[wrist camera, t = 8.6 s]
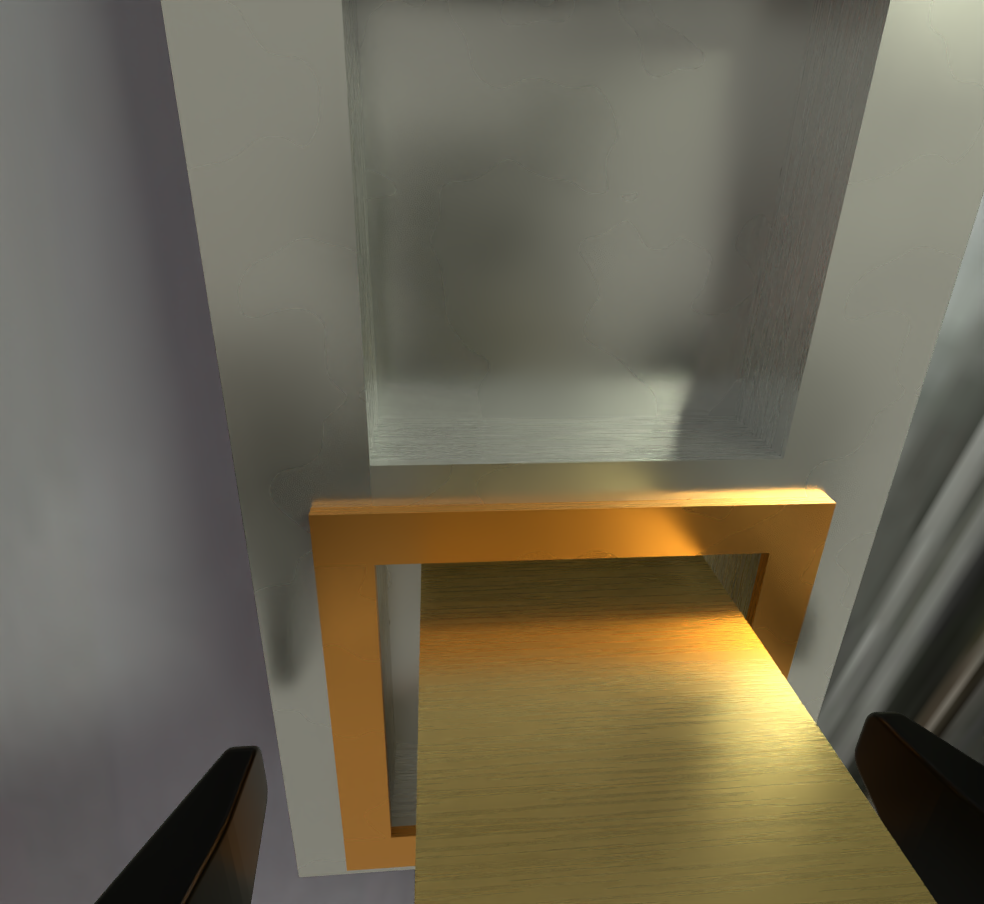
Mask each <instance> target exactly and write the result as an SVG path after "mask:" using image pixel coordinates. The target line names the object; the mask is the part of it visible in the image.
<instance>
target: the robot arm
mask: <svg viewBox="0 0 984 904" xmlns="http://www.w3.org/2000/svg"><path fill="white" fill-rule="evenodd" d="M855 761H856V765H857V768H858V771H859V773H860V775H861V777H862V779H863V782H864V784H865V786H866V788H867V791H868V793H869V795H870V797H871V799H872V802H873V804H874V806H875V808H876V811H877V813H878V815H879V817H880V820H881V821H882V822H883V824H884V825H885V827H886V828H887V830H888V831H889V833H890V834H891V836H892V837H893V839H894V840H895V842H896V843H897V845H898V846H899V848H900V849H901V851H902V852H903V854H904V855H905V857H906V858H907V860H908V861H909V862H910V864H911V865H912V867H913V868H914V870H915V871H916V873H917V874H918V876H919V877H920V879H921V880H922V882H923V883H924V885H925V886H926V888H927V889H928V891H929V892H930V894H931V895H932V897H933V898H934V900H935V901H936V903H937V904H984V766H983V765H981V764H980V763H978V762H977V761H975V760H974V759H972V758H970V757H969V756H967V755H966V754H964V753H963V752H961V751H959V750H958V749H956V748H955V747H953V746H952V745H950V744H949V743H947V742H945V741H944V740H942V739H941V738H939V737H938V736H936V735H934V734H933V733H931V732H930V731H928V730H927V729H925V728H923V727H922V726H920V725H919V724H917V723H916V722H914V721H913V720H911V719H909V718H908V717H906V716H905V715H903V714H901V713H898V712H874V713H871V714H870V715H868V717H867V718H866V720H865V723H864V726H863V729H862V732H861V734H860V737H859V740H858V743H857V745H856V748H855ZM266 804H267V782H266V776H265V770H264V765H263V759H262V754H261V750H260V749H259V747H257V746H239V747H231V748H229V749H227V750H226V751H225V752H224V753H223V754H222V755H221V757H220V758H219V759H218V760H217V761H216V762H215V764H214V765H213V766H212V767H211V768H210V769H209V771H208V772H207V773H206V774H205V775H204V776H203V778H202V779H201V780H200V781H199V782H198V783H197V785H196V786H195V787H194V788H193V789H192V790H191V792H190V793H189V794H188V795H187V796H186V797H185V799H184V800H183V801H182V802H181V803H180V804H179V806H178V807H177V808H176V809H175V810H174V811H173V813H172V814H171V815H170V816H169V817H168V818H167V819H166V821H165V822H164V823H163V824H162V825H161V826H160V828H159V829H158V830H157V831H156V832H155V833H154V835H153V836H152V837H151V838H150V839H149V840H148V842H147V843H146V844H145V845H144V846H143V847H142V849H141V850H140V851H139V852H138V853H137V854H136V856H135V857H134V858H133V859H132V860H131V861H130V863H129V864H128V865H127V866H126V867H125V868H124V870H123V871H122V872H121V873H120V874H119V875H118V877H117V878H116V879H115V880H114V881H113V882H112V884H111V885H110V886H109V887H108V888H107V889H106V891H105V892H104V893H103V894H102V895H101V896H100V898H99V899H98V900H97V901H96V902H95V903H94V904H251V899H252V892H253V886H254V880H255V873H256V867H257V861H258V855H259V848H260V842H261V836H262V829H263V823H264V817H265V811H266Z"/></svg>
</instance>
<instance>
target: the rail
mask: <svg viewBox="0 0 984 904" xmlns="http://www.w3.org/2000/svg"><path fill="white" fill-rule="evenodd" d="M161 6H162V13H163V19H164V25H165V32H166V38H167V44H168V51H169V57H170V63H171V70H172V76H173V82H174V89H175V95H176V101H177V108H178V114H179V120H180V127H181V133H182V139H183V146H184V152H185V158H186V165H187V171H188V177H189V184H190V190H191V196H192V203H193V209H194V215H195V222H196V228H197V234H198V241H199V247H200V253H201V260H202V266H203V272H204V279H205V285H206V291H207V298H208V304H209V310H210V317H211V323H212V329H213V336H214V342H215V348H216V355H217V361H218V367H219V374H220V380H221V386H222V393H223V399H224V405H225V412H226V418H227V424H228V431H229V437H230V443H231V450H232V456H233V462H234V469H235V475H236V481H237V488H238V494H239V501H240V507H241V513H242V520H243V526H244V532H245V539H246V545H247V551H248V558H249V564H250V570H251V577H252V583H253V589H254V596H255V602H256V608H257V615H258V621H259V627H260V634H261V640H262V646H263V653H264V659H265V665H266V672H267V678H268V684H269V691H270V697H271V703H272V710H273V716H274V722H275V729H276V735H277V741H278V748H279V754H280V760H281V767H282V773H283V779H284V786H285V792H286V798H287V805H288V811H289V817H290V824H291V830H292V836H293V843H294V849H295V855H296V862H297V868H298V874H299V877H313V876H327V875H341V874H355V873H369V872H383V871H397V870H411V869H415V858H416V807H417V756H418V705H419V654H420V603H421V564H425V563H459V562H492V561H525V560H559V559H592V558H626V557H659V556H692V555H702V556H703V557H704V559H705V560H706V562H707V563H708V564H709V566H710V567H711V569H712V570H713V572H714V573H715V575H716V576H717V578H718V579H719V581H720V582H721V584H722V585H723V587H724V588H725V590H726V591H727V593H728V594H729V596H730V597H731V599H732V600H733V602H734V603H735V605H736V606H737V607H738V609H739V610H740V612H741V613H742V615H743V616H744V618H745V619H746V621H747V622H748V624H749V625H750V627H751V628H752V630H753V631H754V633H755V634H756V636H757V637H758V639H759V640H760V642H761V643H762V645H763V646H764V648H765V649H766V650H767V652H768V653H769V655H770V656H771V658H772V659H773V661H774V662H775V664H776V665H777V667H778V668H779V670H780V671H781V673H782V674H783V676H784V677H785V679H786V680H787V682H788V683H789V685H790V686H791V688H792V689H793V691H794V692H795V693H796V695H797V696H798V698H799V699H800V701H801V702H802V704H803V705H804V707H805V708H806V710H807V711H808V713H809V714H810V716H811V717H812V719H813V720H814V722H815V723H816V721H817V718H818V715H819V712H820V709H821V706H822V702H823V699H824V696H825V693H826V690H827V687H828V683H829V680H830V677H831V674H832V671H833V668H834V664H835V661H836V658H837V655H838V652H839V649H840V645H841V642H842V639H843V636H844V633H845V630H846V626H847V623H848V620H849V617H850V614H851V611H852V607H853V604H854V601H855V598H856V595H857V592H858V588H859V585H860V582H861V579H862V576H863V573H864V569H865V566H866V563H867V560H868V557H869V554H870V550H871V547H872V544H873V541H874V538H875V535H876V531H877V528H878V525H879V522H880V519H881V516H882V512H883V509H884V506H885V503H886V500H887V497H888V493H889V490H890V487H891V484H892V481H893V478H894V474H895V471H896V468H897V465H898V462H899V459H900V456H901V452H902V449H903V446H904V443H905V440H906V437H907V433H908V430H909V427H910V424H911V421H912V418H913V414H914V411H915V408H916V405H917V402H918V399H919V395H920V392H921V389H922V386H923V383H924V380H925V376H926V373H927V370H928V367H929V364H930V361H931V357H932V354H933V351H934V348H935V345H936V342H937V338H938V335H939V332H940V329H941V326H942V323H943V319H944V316H945V313H946V310H947V307H948V304H949V300H950V297H951V294H952V291H953V288H954V285H955V281H956V278H957V275H958V272H959V269H960V266H961V262H962V259H963V256H964V253H965V250H966V247H967V243H968V240H969V237H970V234H971V231H972V228H973V224H974V221H975V218H976V215H977V212H978V209H979V205H980V202H981V199H982V196H983V193H984V0H161Z"/></svg>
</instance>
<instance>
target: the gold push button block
mask: <svg viewBox="0 0 984 904" xmlns="http://www.w3.org/2000/svg"><path fill="white" fill-rule="evenodd" d="M415 904H937V903H936V901H935V900H934V898H933V897H932V895H931V894H930V892H929V891H928V889H927V888H926V886H925V885H924V883H923V882H922V880H921V879H920V877H919V876H918V874H917V873H916V871H915V870H914V868H913V867H912V865H911V864H910V862H909V861H908V860H907V858H906V857H905V855H904V854H903V852H902V851H901V849H900V848H899V846H898V845H897V843H896V842H895V840H894V839H893V837H892V836H891V834H890V833H889V831H888V830H887V828H886V827H885V825H884V824H883V822H882V821H881V820H880V818H879V817H878V815H877V814H876V812H875V811H874V809H873V808H872V806H871V805H870V803H869V802H868V800H867V799H866V797H865V796H864V794H863V793H862V791H861V790H860V788H859V787H858V785H857V784H856V782H855V781H854V779H853V778H852V777H851V775H850V774H849V772H848V771H847V769H846V768H845V766H844V765H843V763H842V762H841V760H840V759H839V757H838V756H837V754H836V753H835V751H834V750H833V748H832V747H831V745H830V744H829V742H828V741H827V739H826V738H825V736H824V735H823V734H822V732H821V731H820V729H819V728H818V726H817V725H816V723H815V722H814V720H813V719H812V717H811V716H810V714H809V713H808V711H807V710H806V708H805V707H804V705H803V704H802V702H801V701H800V699H799V698H798V696H797V695H796V693H795V692H794V691H793V689H792V688H791V686H790V685H789V683H788V682H787V680H786V679H785V677H784V676H783V674H782V673H781V671H780V670H779V668H778V667H777V665H776V664H775V662H774V661H773V659H772V658H771V656H770V655H769V653H768V652H767V650H766V649H765V648H764V646H763V645H762V643H761V642H760V640H759V639H758V637H757V636H756V634H755V633H754V631H753V630H752V628H751V627H750V625H749V624H748V622H747V621H746V619H745V618H744V616H743V615H742V613H741V612H740V610H739V609H738V607H737V606H736V605H735V603H734V602H733V600H732V599H731V597H730V596H729V594H728V593H727V591H726V590H725V588H724V587H723V585H722V584H721V582H720V581H719V579H718V578H717V576H716V575H715V573H714V572H713V570H712V569H711V567H710V566H709V564H708V563H707V562H706V560H705V559H704V557H703V556H702V555H692V556H659V557H626V558H592V559H559V560H525V561H492V562H459V563H425V564H421V603H420V654H419V705H418V756H417V807H416V858H415Z"/></svg>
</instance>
